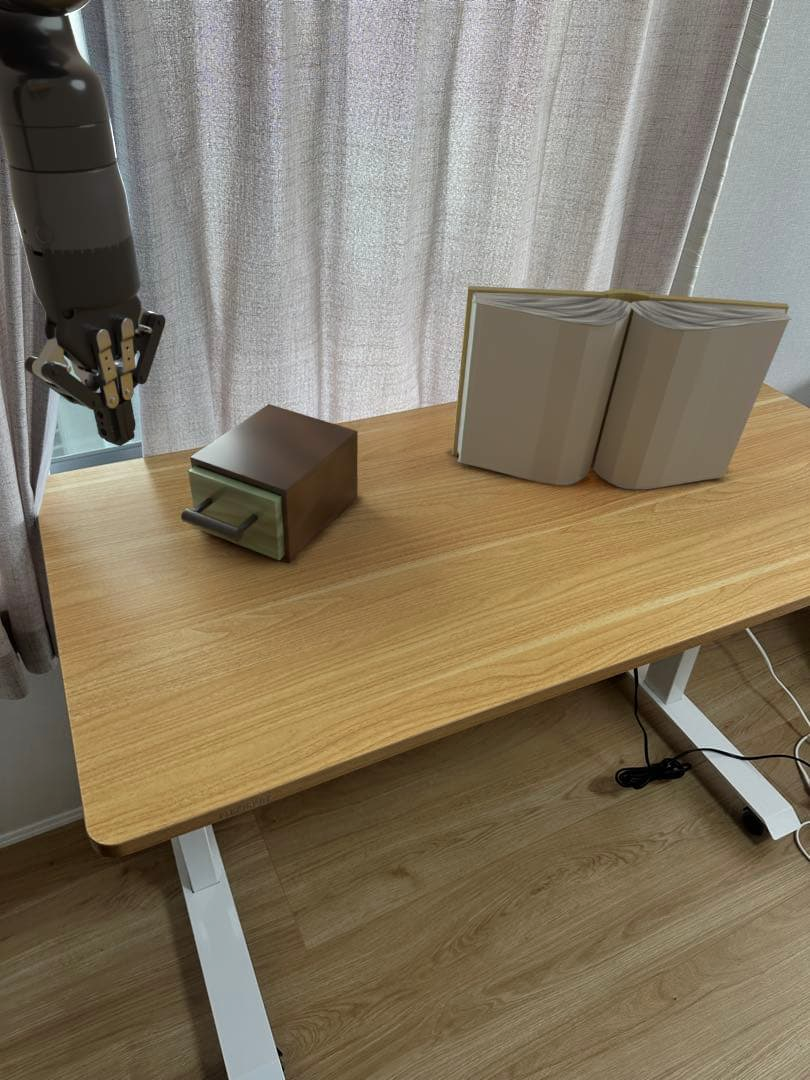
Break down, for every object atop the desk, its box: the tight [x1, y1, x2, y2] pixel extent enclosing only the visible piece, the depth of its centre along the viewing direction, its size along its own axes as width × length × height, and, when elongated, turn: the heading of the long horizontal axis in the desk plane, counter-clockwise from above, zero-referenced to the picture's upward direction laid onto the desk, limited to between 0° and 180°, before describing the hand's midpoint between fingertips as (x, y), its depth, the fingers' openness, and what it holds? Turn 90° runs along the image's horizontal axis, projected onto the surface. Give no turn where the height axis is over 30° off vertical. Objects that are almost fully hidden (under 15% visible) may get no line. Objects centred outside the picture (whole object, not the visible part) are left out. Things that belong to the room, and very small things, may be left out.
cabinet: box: [189, 403, 359, 563], centre depth 94 cm, size 15×13×10 cm
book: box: [451, 285, 793, 491], centre depth 98 cm, size 36×8×24 cm, turn 87°
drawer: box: [180, 466, 285, 561], centre depth 91 cm, size 18×11×8 cm, turn 152°
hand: (119, 440), depth 68 cm, fingers closed
